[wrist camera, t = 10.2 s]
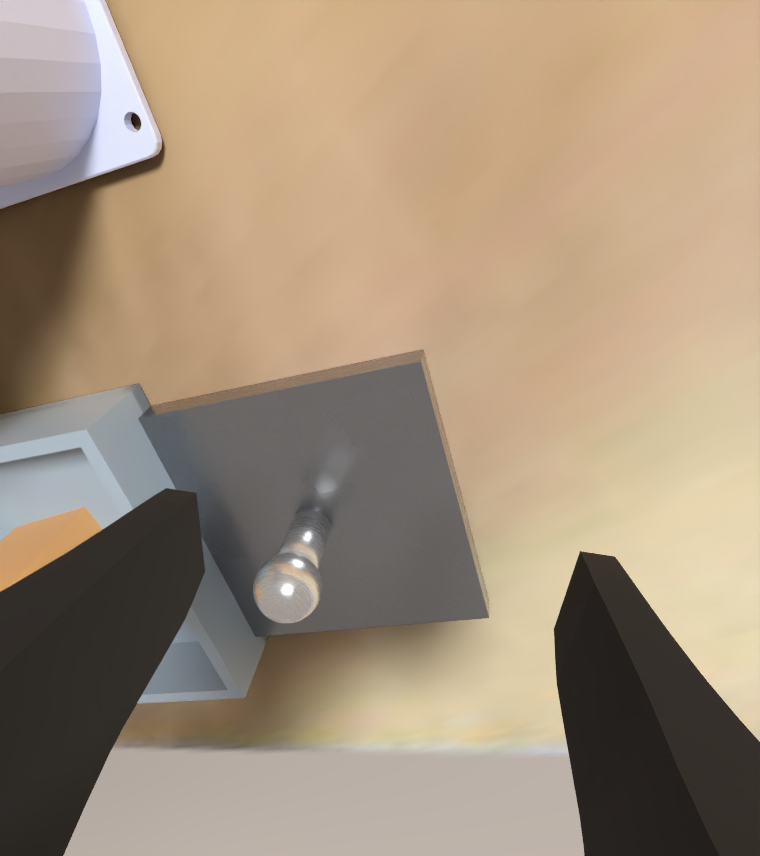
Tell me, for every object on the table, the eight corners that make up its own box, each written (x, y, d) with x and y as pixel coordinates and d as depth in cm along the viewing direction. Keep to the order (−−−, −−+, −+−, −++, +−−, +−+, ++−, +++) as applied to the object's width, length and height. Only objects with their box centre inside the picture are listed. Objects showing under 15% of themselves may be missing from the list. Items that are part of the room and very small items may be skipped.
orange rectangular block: (15, 527, 26) (-120, 655, 20) (84, 506, 25) (-38, 637, 19) (71, 592, 28) (-38, 727, 22) (138, 575, 27) (41, 715, 21)
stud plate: (129, 410, 23) (37, 495, 18) (423, 349, 20) (405, 432, 15) (243, 621, 28) (196, 730, 24) (488, 599, 25) (491, 719, 20)
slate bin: (-126, 442, 26) (-205, 488, 23) (139, 383, 22) (86, 429, 19) (42, 653, 32) (-2, 710, 29) (269, 634, 29) (245, 698, 26)
